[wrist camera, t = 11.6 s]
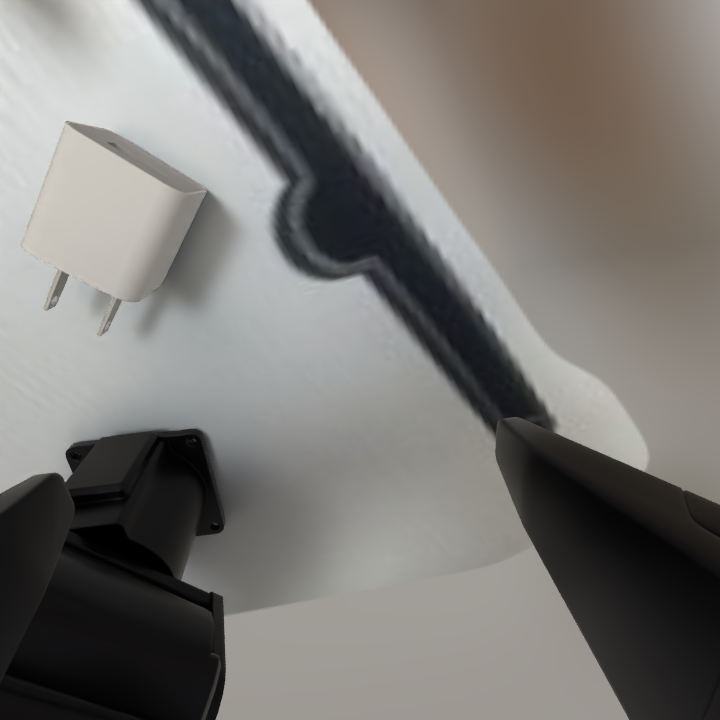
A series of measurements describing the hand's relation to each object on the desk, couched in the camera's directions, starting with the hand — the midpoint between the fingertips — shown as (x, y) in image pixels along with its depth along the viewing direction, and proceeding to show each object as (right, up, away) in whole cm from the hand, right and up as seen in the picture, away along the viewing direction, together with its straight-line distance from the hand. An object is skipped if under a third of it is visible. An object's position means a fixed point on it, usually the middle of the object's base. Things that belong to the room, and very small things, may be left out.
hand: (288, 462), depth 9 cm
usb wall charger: (-8, +7, +9) cm, 14 cm away
